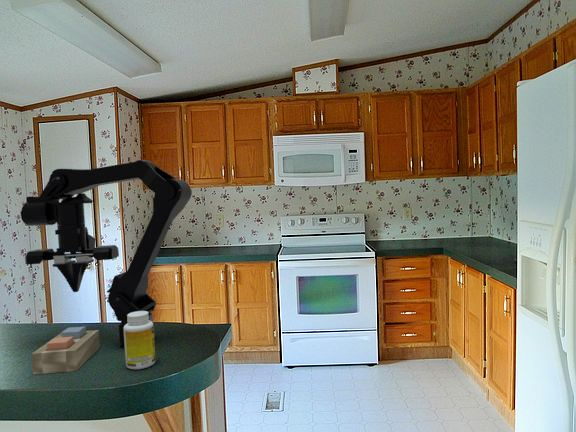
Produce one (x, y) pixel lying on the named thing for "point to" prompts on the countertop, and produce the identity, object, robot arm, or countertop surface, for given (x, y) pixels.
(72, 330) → the light blue square block
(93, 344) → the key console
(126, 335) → the supplement bottle
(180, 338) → the countertop surface
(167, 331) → the countertop surface
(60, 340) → the key terracotta
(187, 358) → the countertop surface
